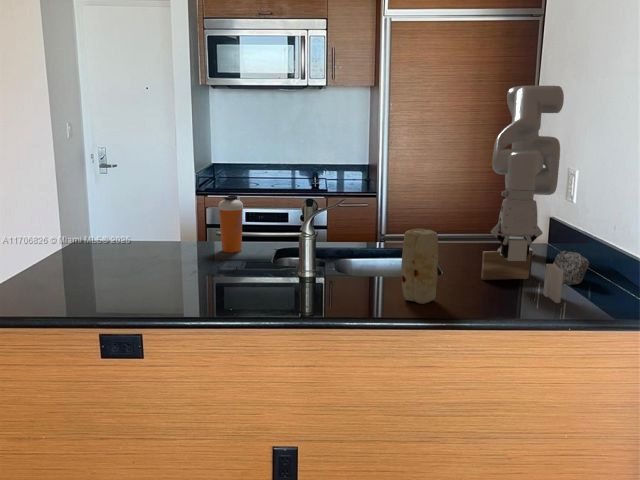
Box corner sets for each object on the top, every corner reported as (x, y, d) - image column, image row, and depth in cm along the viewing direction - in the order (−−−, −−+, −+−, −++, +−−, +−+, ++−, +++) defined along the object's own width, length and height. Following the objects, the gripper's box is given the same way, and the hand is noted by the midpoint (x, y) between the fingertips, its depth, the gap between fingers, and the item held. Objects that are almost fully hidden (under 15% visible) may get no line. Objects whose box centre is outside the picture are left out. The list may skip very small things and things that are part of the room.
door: (479, 278, 182) (481, 250, 180) (527, 277, 184) (529, 249, 182) (482, 280, 179) (484, 252, 177) (530, 279, 181) (533, 251, 179)
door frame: (553, 302, 159) (556, 270, 157) (513, 270, 191) (516, 243, 189) (562, 302, 159) (565, 271, 157) (521, 270, 191) (523, 243, 189)
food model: (433, 297, 163) (437, 227, 159) (438, 305, 157) (442, 232, 152) (398, 297, 163) (401, 226, 159) (402, 304, 157) (405, 231, 152)
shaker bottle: (216, 252, 212) (214, 198, 207) (224, 247, 220) (222, 194, 216) (240, 254, 210) (238, 198, 206) (247, 248, 219) (246, 195, 214)
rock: (591, 288, 172) (593, 254, 171) (561, 286, 173) (564, 252, 172) (574, 282, 187) (577, 251, 187) (547, 280, 188) (550, 249, 188)
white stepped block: (526, 261, 168) (527, 240, 167) (508, 260, 168) (510, 240, 167) (516, 254, 176) (518, 235, 175) (500, 254, 176) (501, 234, 175)
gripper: (493, 196, 163) (489, 260, 167) (554, 197, 163) (548, 260, 167) (486, 193, 170) (481, 254, 174) (544, 193, 171) (538, 254, 174)
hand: (514, 256), depth 171 cm, fingers closed on white stepped block, 5 cm apart
